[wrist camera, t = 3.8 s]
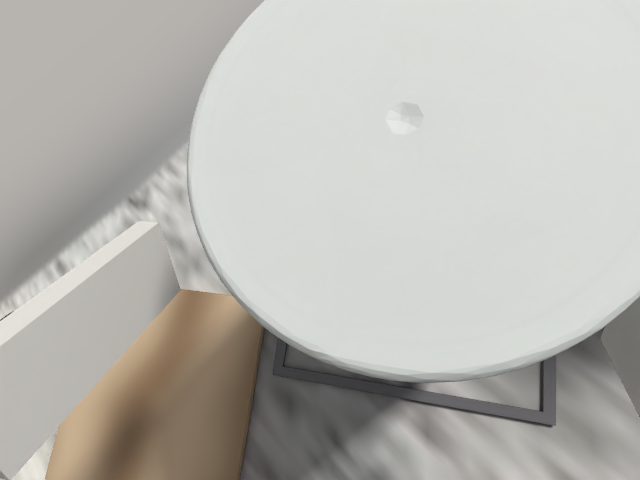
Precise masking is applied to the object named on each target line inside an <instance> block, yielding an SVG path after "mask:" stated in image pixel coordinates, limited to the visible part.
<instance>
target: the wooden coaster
mask: <svg viewBox="0 0 640 480" xmlns="http://www.w3.org/2000/svg"><path fill="white" fill-rule="evenodd" d="M263 333H264V327H263V326H262V325H261V324H260V323H259V322H258V321H257V320H255V319H254V318H253V317H252V316H251V315H250V314H249V313H248V312H247V311H246V310H245V309H244V308H243V307H242V306H241V305H240V304H239V303H238V302H237V301H236V299H235V298H234V297H233V296H231V295H223V294H215V293H207V292H200V291H192V290H184V289H180V291H179V293H178V294H177V295H176V296H175V297H174V298H173V299H172V300H171V301H170V303H169V304H168V305H167V306H166V307H165V308H164V309H163V310H162V311H161V313H160V314H159V315H158V316H157V317H156V318H155V319H154V320H153V322H152V323H151V324H150V325H149V326H148V327H147V328H146V329H145V330H144V332H143V333H142V334H141V335H140V336H139V337H138V338H137V339H136V341H135V342H134V343H133V344H132V345H131V346H130V347H129V348H128V349H127V351H126V352H125V353H124V354H123V355H122V356H121V357H120V358H119V360H118V361H117V362H116V363H115V364H114V365H113V366H112V367H111V368H110V370H109V371H108V372H107V373H106V374H105V375H104V376H103V377H102V378H101V380H100V381H99V382H98V383H97V384H96V385H95V386H94V387H93V389H92V390H91V391H90V392H89V393H88V394H87V395H86V396H85V397H84V399H83V400H82V401H81V402H80V403H79V404H78V405H77V406H76V408H75V409H74V410H73V411H72V412H71V413H70V414H69V415H68V416H67V418H66V419H65V420H64V421H63V422H62V423H61V424H60V425H59V428H58V431H57V435H56V439H55V443H54V446H53V450H52V454H51V458H50V462H49V465H48V469H47V473H46V477H45V479H46V480H240V474H241V467H242V461H243V455H244V449H245V443H246V437H247V431H248V425H249V419H250V412H251V406H252V400H253V394H254V388H255V382H256V376H257V370H258V364H259V357H260V351H261V345H262V339H263Z"/></svg>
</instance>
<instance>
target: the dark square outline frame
mask: <svg viewBox="0 0 640 480" xmlns="http://www.w3.org/2000/svg"><path fill="white" fill-rule="evenodd" d="M286 346H287V343H286V342H284V341H283V340H281V339H280V338H278V343H277V350H276V356H275V363H274V369H273V375H278V376H283V377H289V378H294V379H300V380H305V381H311V382H316V383H322V384H328V385H333V386H339V387H344V388H350V389H355V390H361V391H366V392H372V393H377V394H383V395H388V396H394V397H399V398H405V399H410V400H416V401H422V402H427V403H433V404H438V405H444V406H449V407H455V408H460V409H466V410H471V411H477V412H482V413H488V414H493V415H499V416H504V417H510V418H516V419H521V420H527V421H532V422H538V423H543V424H549V425H554V426H556V355H554V356H552V357H550V358H548V359H546V360H543V403H542V411H537V410H531V409H525V408H520V407H514V406H508V405H502V404H497V403H491V402H485V401H479V400H474V399H468V398H462V397H456V396H451V395H445V394H439V393H433V392H428V391H422V390H416V389H410V388H405V387H399V386H393V385H387V384H381V383H376V382H370V381H364V380H358V379H353V378H347V377H341V376H335V375H330V374H324V373H318V372H312V371H307V370H301V369H295V368H289V367H284V359H285V353H286Z"/></svg>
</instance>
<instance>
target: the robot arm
mask: <svg viewBox="0 0 640 480" xmlns="http://www.w3.org/2000/svg"><path fill="white" fill-rule="evenodd" d="M179 291H180V287H179V283H178V280H177V277H176V274H175V271H174V268H173V265H172V262H171V259H170V255H169V252H168V249H167V246H166V243H165V240H164V237H163V234H162V231H161V228H160V224H159V222H145V221H138V222H137V223H135V224H134V225H133V226H131V227H130V228H129V229H127V230H126V231H124V232H123V233H122V234H120V235H119V236H117V237H116V238H115V239H113V240H112V241H111V242H109V243H108V244H106V245H105V246H104V247H102V248H101V249H99V250H98V251H97V252H95V253H94V254H93V255H91V256H90V257H88V258H87V259H86V260H84V261H83V262H81V263H80V264H79V265H77V266H76V267H75V268H73V269H72V270H70V271H69V272H68V273H66V274H65V275H63V276H62V277H61V278H59V279H58V280H57V281H55V282H54V283H52V284H51V285H50V286H48V287H47V288H45V289H44V290H43V291H41V292H40V293H39V294H37V295H36V296H34V297H33V298H32V299H30V300H29V301H28V302H26V303H25V304H23V305H22V306H21V307H19V308H18V309H16V310H15V311H13V312H11V313H9V314H8V315H6V316H5V317H4V318H2V319H1V320H0V478H2V479H6V480H11V479H12V478H13V477H14V476H15V475H16V473H17V472H18V471H19V470H20V469H21V468H22V467H23V466H24V464H25V463H26V462H27V461H28V460H29V459H30V458H31V457H32V456H33V454H34V453H35V452H36V451H37V450H38V449H39V448H40V447H41V445H42V444H43V443H44V442H45V441H46V440H47V439H48V438H49V437H50V435H51V434H52V433H53V432H54V431H55V430H56V429H57V428H58V426H59V425H60V424H61V423H62V422H63V421H64V420H65V419H66V418H67V416H68V415H69V414H70V413H71V412H72V411H73V410H74V409H75V408H76V406H77V405H78V404H79V403H80V402H81V401H82V400H83V399H84V397H85V396H86V395H87V394H88V393H89V392H90V391H91V390H92V389H93V387H94V386H95V385H96V384H97V383H98V382H99V381H100V380H101V378H102V377H103V376H104V375H105V374H106V373H107V372H108V371H109V370H110V368H111V367H112V366H113V365H114V364H115V363H116V362H117V361H118V360H119V358H120V357H121V356H122V355H123V354H124V353H125V352H126V351H127V349H128V348H129V347H130V346H131V345H132V344H133V343H134V342H135V341H136V339H137V338H138V337H139V336H140V335H141V334H142V333H143V332H144V330H145V329H146V328H147V327H148V326H149V325H150V324H151V323H152V322H153V320H154V319H155V318H156V317H157V316H158V315H159V314H160V313H161V311H162V310H163V309H164V308H165V307H166V306H167V305H168V304H169V303H170V301H171V300H172V299H173V298H174V297H175V296H176V295H177V294H178V293H179ZM600 340H601V342H602V344H603V346H604V348H605V350H606V351H607V353H608V355H609V357H610V359H611V361H612V363H613V365H614V367H615V369H616V371H617V373H618V375H619V377H620V379H621V381H622V383H623V385H624V387H625V389H626V391H627V393H628V395H629V397H630V399H631V401H632V403H633V405H634V407H635V409H636V411H637V413H638V415H639V417H640V296H639V297H638V298H637V299H636V300H635V301H634V302H633V303H632V304H631V305H630V306H629V307H628V308H626V309H625V310H624V311H623V312H622V313H620V314H619V315H618V316H617V317H616V318H614V319H613V320H612V321H611V322H610V323H608V324H607V325H606V326H605V328H604V331H603V333H602V335H601V338H600Z"/></svg>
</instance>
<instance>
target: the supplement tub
mask: <svg viewBox="0 0 640 480" xmlns="http://www.w3.org/2000/svg"><path fill="white" fill-rule="evenodd" d="M187 183H188V195H189V202H190V207H191V213H192V216H193V220H194V223H195V227H196V230H197V233H198V235H199V238H200V241H201V243H202V246H203V248H204V250H205V253H206V255H207V257H208V259H209V261H210V263H211V265H212V267H213V268H214V270H215V272H216V273H217V275H218V277H219V278H220V280H221V281H222V283H223V284H224V285H225V287H226V288H227V289H228V291H229V292H230V293H231V294H232V296H233V297H234V298H235V299H236V301H237V302H238V303H239V304H240V305H241V306H242V307H243V308H244V309H245V310H246V311H247V312H248V313H249V314H250V315H251V316H252V317H253V318H254V319H255V320H257V321H258V322H259V323H260V324H261V325H262V326H263V327H264V328H266V329H267V330H268V331H270V332H271V333H272V334H274V335H275V336H277V337H278V338H280V339H281V340H283V341H284V342H286V343H287V344H289V345H290V346H292V347H294V348H295V349H297V350H299V351H301V352H303V353H305V354H307V355H309V356H311V357H313V358H315V359H317V360H319V361H322V362H324V363H327V364H330V365H332V366H335V367H338V368H340V369H343V370H346V371H350V372H354V373H358V374H362V375H365V376H369V377H374V378H380V379H387V380H393V381H403V382H415V383H434V382H458V381H466V380H472V379H478V378H484V377H490V376H495V375H499V374H503V373H507V372H511V371H514V370H518V369H521V368H524V367H527V366H530V365H533V364H535V363H538V362H540V361H543V360H546V359H548V358H550V357H552V356H554V355H557V354H559V353H561V352H563V351H565V350H567V349H569V348H571V347H572V346H574V345H576V344H578V343H579V342H581V341H583V340H584V339H586V338H588V337H589V336H591V335H593V334H594V333H596V332H597V331H599V330H601V329H602V328H603V327H605V326H606V325H607V324H608V323H610V322H611V321H612V320H613V319H614V318H616V317H617V316H618V315H619V314H620V313H622V312H623V311H624V310H625V309H626V308H628V307H629V306H630V305H631V304H632V303H633V302H634V301H635V300H636V299H637V298H638V297H639V296H640V0H265V1H264V2H263V3H262V4H261V5H260V6H259V7H258V8H256V9H255V10H254V12H253V13H252V14H251V15H250V16H249V17H248V18H247V19H246V20H245V22H244V23H243V24H242V25H241V26H240V27H239V29H238V30H237V31H236V32H235V34H234V35H233V36H232V38H231V39H230V41H229V42H228V44H227V45H226V47H225V48H224V50H223V51H222V53H221V54H220V56H219V57H218V59H217V61H216V63H215V64H214V66H213V68H212V70H211V72H210V74H209V76H208V78H207V81H206V83H205V85H204V87H203V90H202V92H201V94H200V97H199V100H198V104H197V107H196V110H195V113H194V118H193V122H192V126H191V130H190V135H189V144H188V153H187Z"/></svg>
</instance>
